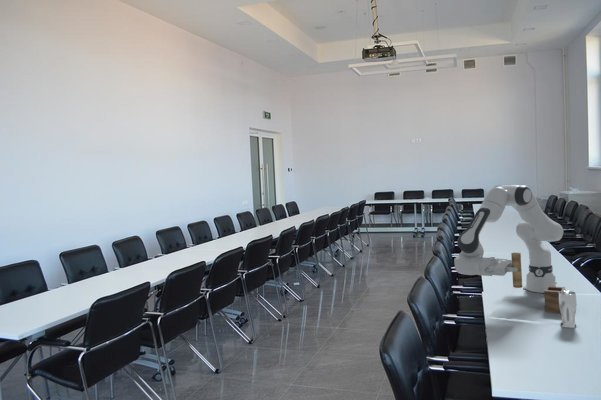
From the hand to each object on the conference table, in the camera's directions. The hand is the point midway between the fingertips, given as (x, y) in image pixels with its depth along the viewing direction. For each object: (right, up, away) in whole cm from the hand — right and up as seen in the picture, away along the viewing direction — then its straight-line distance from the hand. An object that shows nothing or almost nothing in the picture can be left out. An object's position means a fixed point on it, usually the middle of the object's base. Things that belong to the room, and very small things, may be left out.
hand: (518, 268), depth 231 cm
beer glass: (+15, -24, -15) cm, 32 cm away
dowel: (0, -9, +1) cm, 9 cm away
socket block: (+20, -21, +6) cm, 30 cm away
